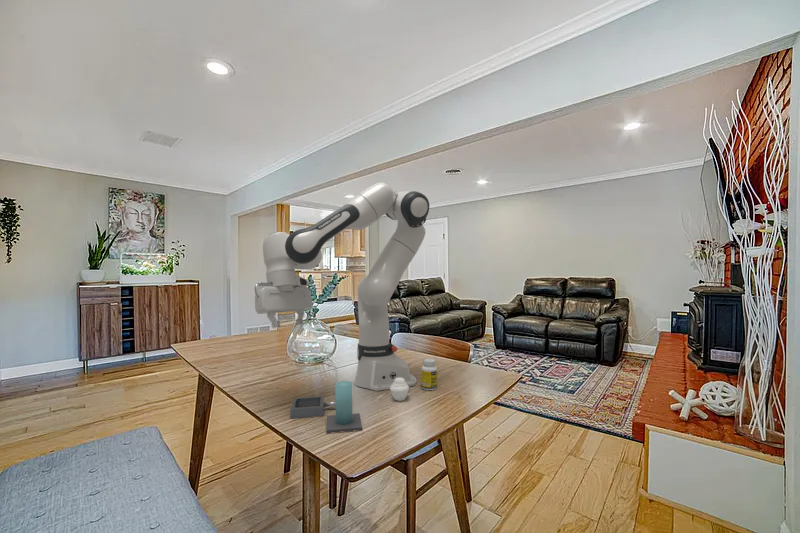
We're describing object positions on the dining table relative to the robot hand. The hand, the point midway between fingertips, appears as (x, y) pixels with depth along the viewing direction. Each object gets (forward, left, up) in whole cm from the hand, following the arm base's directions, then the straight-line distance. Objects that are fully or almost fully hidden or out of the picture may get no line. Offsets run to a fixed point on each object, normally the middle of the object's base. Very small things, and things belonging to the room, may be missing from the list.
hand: (288, 325), depth 110 cm
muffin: (-34, +4, -24) cm, 42 cm away
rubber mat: (-16, +19, -24) cm, 34 cm away
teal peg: (-16, +19, -23) cm, 34 cm away
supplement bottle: (-46, -4, -24) cm, 52 cm away
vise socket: (-10, +8, -24) cm, 27 cm away
